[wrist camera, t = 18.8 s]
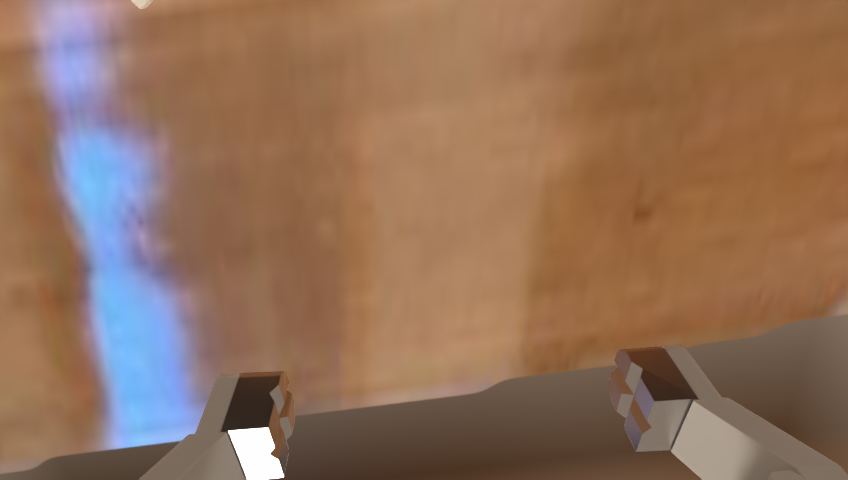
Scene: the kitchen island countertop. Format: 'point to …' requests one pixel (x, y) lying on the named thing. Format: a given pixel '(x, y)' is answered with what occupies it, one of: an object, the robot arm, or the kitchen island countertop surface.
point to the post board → (142, 3)
